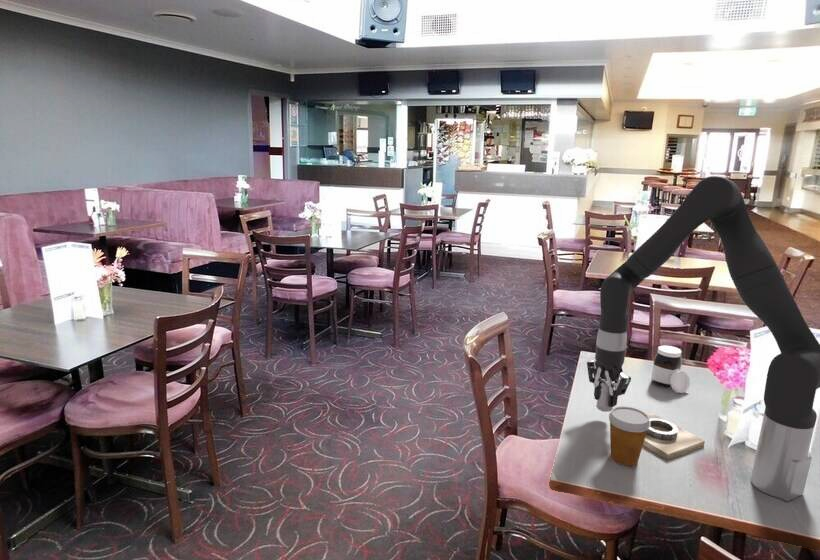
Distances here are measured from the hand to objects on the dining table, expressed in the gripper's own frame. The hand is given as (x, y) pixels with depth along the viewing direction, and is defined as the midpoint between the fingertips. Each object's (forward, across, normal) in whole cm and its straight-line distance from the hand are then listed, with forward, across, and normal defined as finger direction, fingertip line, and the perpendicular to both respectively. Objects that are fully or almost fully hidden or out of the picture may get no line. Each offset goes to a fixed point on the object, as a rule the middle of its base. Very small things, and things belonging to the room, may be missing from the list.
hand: (604, 402), depth 150 cm
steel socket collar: (+4, -14, -6) cm, 15 cm away
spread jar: (+5, +6, -36) cm, 37 cm away
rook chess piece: (+2, 0, 0) cm, 2 cm away
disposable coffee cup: (+5, -16, +10) cm, 20 cm away
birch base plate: (+5, -14, -6) cm, 16 cm away
